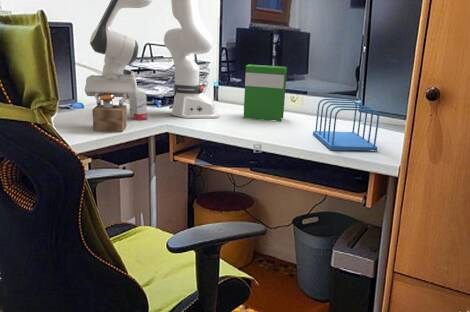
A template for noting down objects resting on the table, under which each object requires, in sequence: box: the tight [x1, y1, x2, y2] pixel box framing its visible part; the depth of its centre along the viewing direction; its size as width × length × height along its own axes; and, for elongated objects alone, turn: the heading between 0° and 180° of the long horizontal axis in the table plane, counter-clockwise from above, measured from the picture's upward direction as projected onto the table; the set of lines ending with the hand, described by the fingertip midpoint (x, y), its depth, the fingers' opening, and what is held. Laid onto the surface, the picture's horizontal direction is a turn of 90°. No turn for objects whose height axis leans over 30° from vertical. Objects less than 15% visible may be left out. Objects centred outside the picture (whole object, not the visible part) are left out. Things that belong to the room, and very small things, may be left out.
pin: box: [99, 94, 115, 108], centre depth 184 cm, size 5×5×9 cm
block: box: [92, 104, 128, 133], centre depth 185 cm, size 11×11×8 cm
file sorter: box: [312, 98, 380, 152], centre depth 179 cm, size 25×17×15 cm
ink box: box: [128, 89, 148, 121], centre depth 206 cm, size 9×5×12 cm, turn 33°
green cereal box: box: [242, 64, 288, 122], centre depth 218 cm, size 18×7×24 cm, turn 77°
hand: (109, 104), depth 183 cm, fingers open, 7 cm apart
